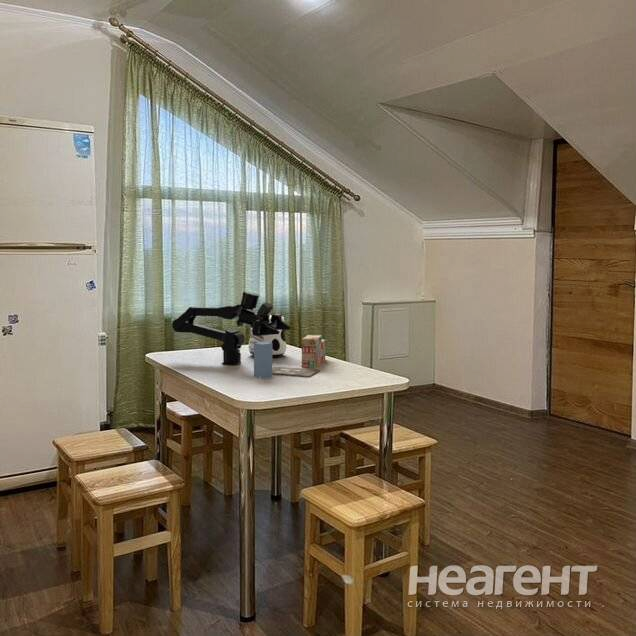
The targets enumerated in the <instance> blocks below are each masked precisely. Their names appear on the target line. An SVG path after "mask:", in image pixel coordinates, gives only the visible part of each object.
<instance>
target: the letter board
mask: <svg viewBox="0 0 636 636" xmlns="http://www.w3.org/2000/svg"><path fill="white" fill-rule="evenodd" d="M320 371H321V369H316V368H304V367H301V368H299V367H288V366H287V367H285V366H272V376H273V375H275V376H284V375H285V376H286V377H287V376H288V377H297V376H300V377H299V378H310V376H311V377H312V376H314V375H316V374H317V372H318V373H319V372H320ZM315 373H316V374H315Z"/></svg>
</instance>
